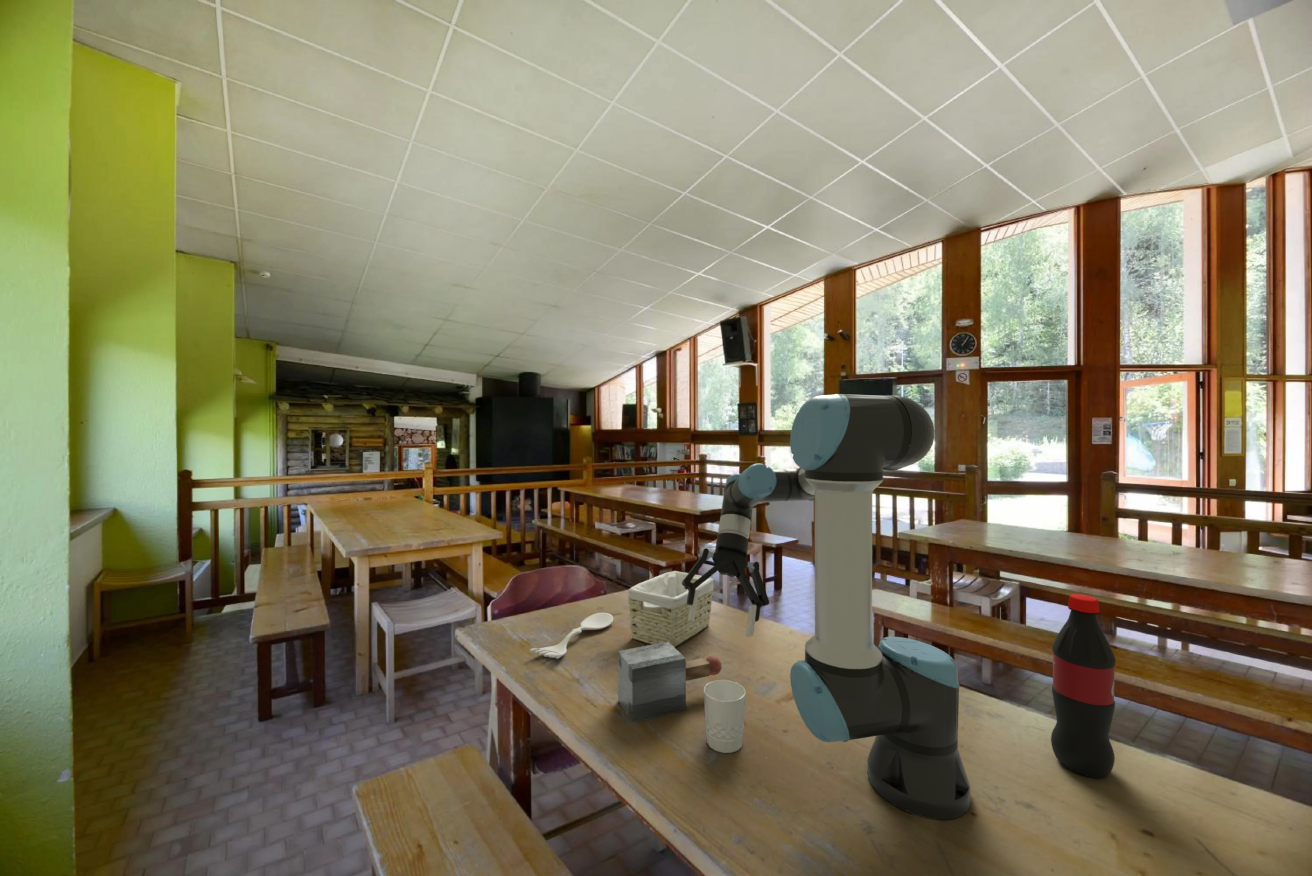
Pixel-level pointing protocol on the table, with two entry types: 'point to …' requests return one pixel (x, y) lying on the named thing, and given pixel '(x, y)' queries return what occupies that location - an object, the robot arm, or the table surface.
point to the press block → (651, 681)
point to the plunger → (702, 668)
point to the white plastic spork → (589, 623)
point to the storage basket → (668, 609)
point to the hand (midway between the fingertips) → (720, 628)
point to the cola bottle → (1083, 691)
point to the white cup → (724, 715)
